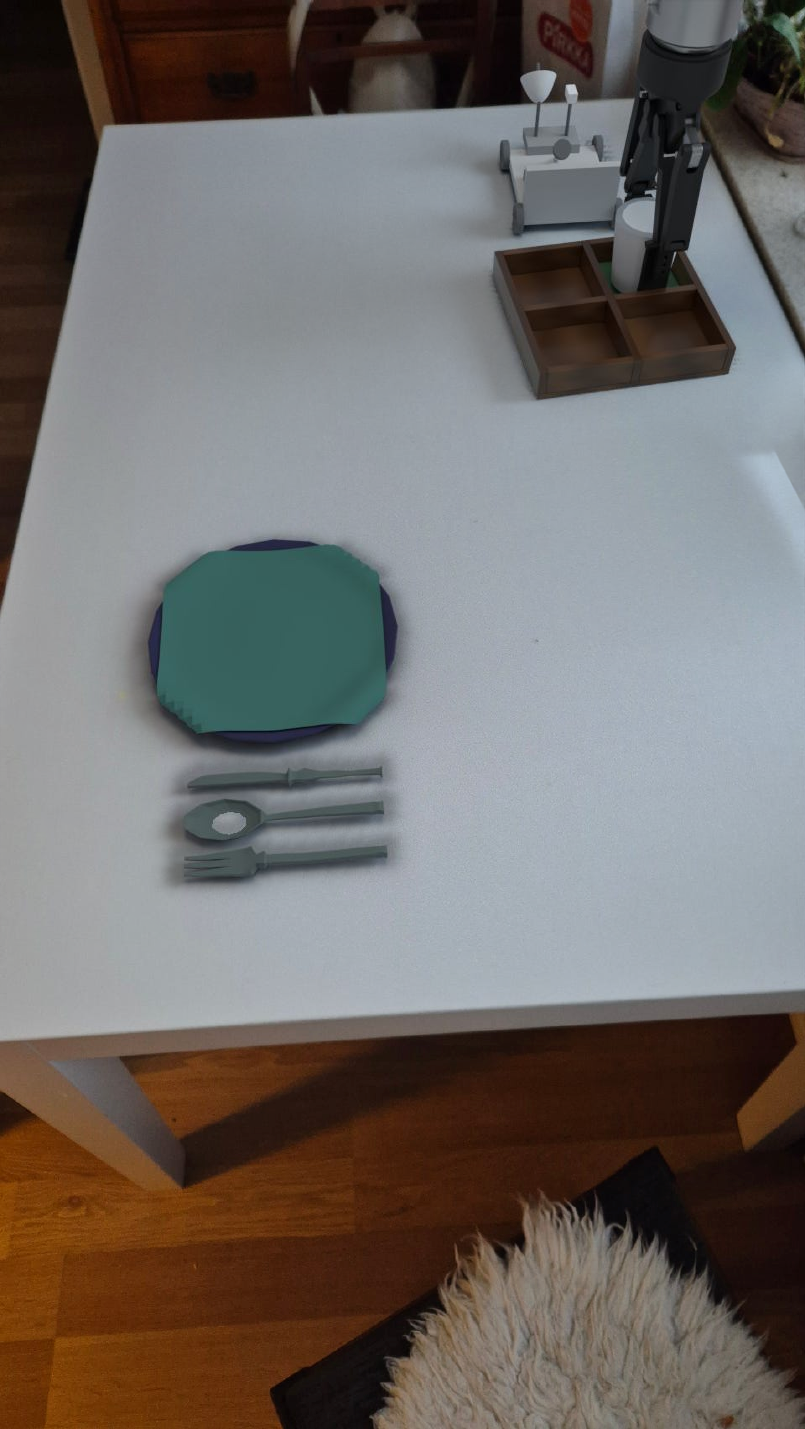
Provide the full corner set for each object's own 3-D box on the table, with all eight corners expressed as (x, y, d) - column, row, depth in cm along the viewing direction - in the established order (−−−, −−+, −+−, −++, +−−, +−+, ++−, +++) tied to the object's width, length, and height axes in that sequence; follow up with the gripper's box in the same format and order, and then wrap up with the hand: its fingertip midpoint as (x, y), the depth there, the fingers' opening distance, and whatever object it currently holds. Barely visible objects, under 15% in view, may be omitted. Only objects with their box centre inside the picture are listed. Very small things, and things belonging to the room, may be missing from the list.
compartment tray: (667, 256, 108) (673, 229, 106) (728, 374, 98) (736, 347, 96) (492, 278, 107) (494, 251, 104) (536, 400, 97) (539, 373, 94)
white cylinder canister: (593, 268, 105) (603, 204, 99) (652, 253, 106) (665, 189, 101) (623, 307, 102) (636, 243, 96) (684, 291, 103) (700, 227, 97)
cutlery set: (390, 546, 87) (390, 528, 85) (416, 868, 71) (416, 855, 70) (160, 560, 87) (154, 542, 85) (134, 887, 71) (126, 875, 69)
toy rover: (501, 59, 111) (606, 54, 112) (496, 148, 120) (593, 143, 120) (522, 149, 102) (636, 143, 102) (515, 239, 110) (620, 234, 110)
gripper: (612, -17, 89) (577, 226, 109) (683, 98, 79) (630, 344, 99) (693, -25, 90) (644, 218, 109) (774, 88, 80) (704, 334, 99)
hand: (638, 278), depth 104 cm, fingers closed on white cylinder canister, 7 cm apart
